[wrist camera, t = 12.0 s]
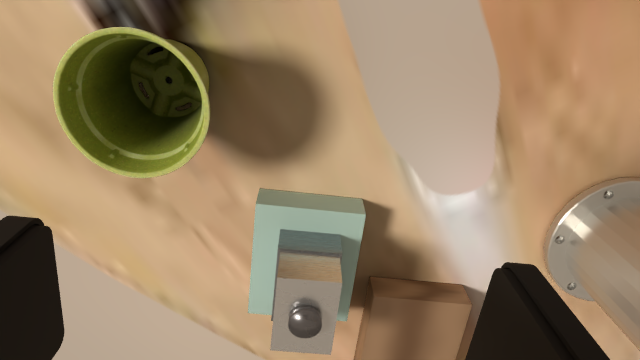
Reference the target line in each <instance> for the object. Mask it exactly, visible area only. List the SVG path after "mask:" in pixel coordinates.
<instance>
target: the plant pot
mask: <svg viewBox="0 0 640 360" xmlns="http://www.w3.org/2000/svg"><path fill="white" fill-rule="evenodd" d="M156 47H163V49H164V50H163V51H160V52H157V53H154V54H152V55H150V56H148V52H149V51H151V50H152V49H153V48H156ZM167 77H170V78H171V79H172V83H170V84H168V83H167V82H166V78H167ZM139 82H141V83H142V84H143V86H144V89H145V91H146V92H147V94H148V95H149V99H148V98H145V96H144V95H143V93H142V92H141V90H140V88H139V85H138V84H139ZM208 92H209V76H208V72H207V69H206V66H205V64H204V63H203V61H202V60H201V58H200V57H199V56H198V54H197V53H196V52H195V51H194V50H192V49H191V48H189V47H188V46H186V45H184V44H182V43H180V42H177V41H174V40H168V39H163V38H161V37H159V36H157V35H155V34H153V33H150V32H147V31H144V30H140V29H136V28H129V27H113V28H106V29H101V30H97V31H95V32H92V33H89V34H87V35H86V36H84V37H82V38H81V39H79V40H78V41H76V42H75V43H74V44H73V45H72V46H71V47H70V48H69V49H68V50H67V52H66V53H65V54H64V56H63V57H62V59H61V60H60V62H59V64H58V67H57V69H56V73H55V76H54V82H53V98H54V105H55V110H56V114H57V117H58V120H59V122H60V124H61V126H62V128H63V130H64V132H65V133H66V135H67V136H68V138H69V140H70V141H71V142H72V143H73V145H74V146H75V147H76V148H77V149H78V150H79V151H80V152H81V153H82V154H83V155H84V156H85V157H87V158H88V159H89V160H91V161H92V162H93V163H95V164H97V165H98V166H100V167H102V168H104V169H106V170H108V171H110V172H113V173H116V174H119V175H123V176H127V177H133V178H152V177H158V176H162V175H165V174H168V173H170V172H173V171H175V170H177V169H179V168H180V167H182V166H183V165H185V164H186V163H187V162H188V161H189V160H190V159H192V157H193V156H194V155H195V154H196V153H197V152H198V150H199V149H200V147H201V146H202V144H203V142H204V140H205V137H206V135H207V132H208V128H209V123H210V102H209V97H208ZM189 102H190V103H192V105H191V106H190V108H188V109H185V110H182V111H178V110H176V107H179V106H183V105H185V104H187V103H189Z"/></svg>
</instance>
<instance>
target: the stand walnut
mask: <svg viewBox="0 0 640 360" xmlns="http://www.w3.org/2000/svg"><path fill="white" fill-rule="evenodd" d="M471 308H472V303H471V301H470V299H469V297H468V295H467V293H466V291H465V289H464V287H463V285H458V284H447V283H436V282H425V281H414V280H403V279H391V278H380V277H370V279H369V284H368V289H367V294H366V300H365V305H364V310H363V315H362V320H361V325H360V330H359V336H358V341H357V346H356V351H355V356H354V360H456V356H457V353H458V350H459V347H460V343H461V340H462V337H463V334H464V330H465V327H466V324H467V321H468V317H469V314H470V311H471Z"/></svg>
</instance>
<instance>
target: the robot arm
mask: <svg viewBox="0 0 640 360" xmlns="http://www.w3.org/2000/svg"><path fill="white" fill-rule="evenodd" d="M544 261H545V265H546V269H547V270H548V272H549V274H550V276H551V277H552V279H553V280H554V281H555V282H556V283H557V285H558V286H559V287H560V288H561V289H563V290H564V291H565V292H566V293H568V294H570V295H572V296H574V297H576V298H579V299H583V300H587V301H595V302H596V303H597V304H598V305H599V306H600V307H601V308H602V309H603V311H604V312H605V313H606V314H607V315H608V316H609V317H610V318H611V319H612V321H613V322H614V323H615V324H616V325H617V326H618V327H619V328H620V329H621V331H622V332H623V333H624V334H625V335H626V336H627V337H628V338H629V340H630V341H631V342H632V343H633V344H634V345H635V346H636V347H637V348H638V350H639V351H640V178H636V177H627V178H617V179H613V180H609V181H605V182H602V183H600V184H597V185H595V186H592V187H590V188H589V189H587V190H585V191H583V192H582V193H580V194H578V195H577V196H576V197H575V198H573V199H572V200H571V201H570V202H569V203H567V204H566V205H565V207H564V208H563V209H562V210H561V211H560V212H559V213H558V214H557V216H556V217H555V219H554V221H553V222H552V224H551V225H550V228H549V230H548V232H547V235H546V238H545V243H544ZM63 337H64V324H63V316H62V308H61V300H60V292H59V284H58V275H57V267H56V260H55V252H54V243H53V235H52V230H51V229H50V227H48V226H44V223H43V222H42V220H40V219H39V218H29V217H19V216H6V217H5V218H3V219H2V220H0V360H52V358H53V357H54V355H55V354H56V352H57V351H58V350H59V348H60V346H61V344H62V341H63ZM465 360H610V359H609V358H608V356H607V355H606V354H605V353H604V351H603V350H602V349H601V348H600V346H599V345H598V344H597V343H596V341H595V340H594V339H593V338H592V336H591V335H590V334H589V332H588V331H587V330H586V329H585V327H584V326H583V325H582V324H581V322H580V321H579V320H578V319H577V317H576V316H575V315H574V314H573V312H572V311H571V310H570V309H569V307H568V306H567V305H566V304H565V302H564V301H563V300H562V299H561V297H560V296H559V295H558V294H557V292H556V291H555V290H554V289H553V287H552V286H551V285H550V283H549V282H548V281H547V280H546V278H545V277H544V276H543V275H542V273H541V272H540V271H539V270H538V268H537V267H536V266H534V265H531V264H520V263H510V262H507V263H504V265H503V266H502V267H501V268H497V269H495V271H494V272H493V275H492V278H491V281H490V284H489V287H488V290H487V293H486V297H485V300H484V303H483V306H482V309H481V312H480V315H479V319H478V322H477V325H476V328H475V331H474V334H473V337H472V341H471V344H470V347H469V350H468V353H467V356H466V359H465Z"/></svg>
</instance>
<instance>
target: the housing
mask: <svg viewBox="0 0 640 360" xmlns="http://www.w3.org/2000/svg"><path fill="white" fill-rule="evenodd" d="M341 260H342V246H341V238H340V234H330V233H319V232H308V231H297V230H286V229H280V235H279V243H278V252H277V263H276V274H275V285H274V296H273V307H272V318H271V321H273V328H272V338H271V349H270V350H274V351H287V352H301V353H314V354H328V355H331V351H332V345H333V338H334V332H335V326H336V320H337V313H338V307H339V301H340V295H341V289H342V275H341Z"/></svg>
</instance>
